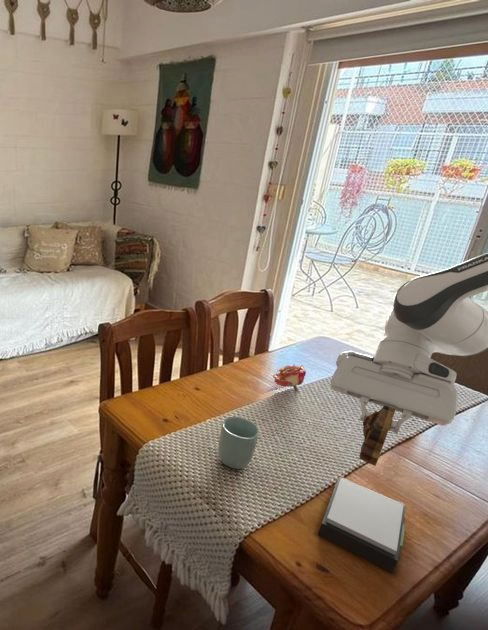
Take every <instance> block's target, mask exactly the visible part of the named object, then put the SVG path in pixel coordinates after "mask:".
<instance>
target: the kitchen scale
mask: <svg viewBox="0 0 488 630" xmlns="http://www.w3.org/2000/svg"><path fill="white" fill-rule="evenodd" d="M405 513H406V505H405V504H404V503H403V502H400V501H398V500H396V499H392V498H390V497H388V496H387V495H383V494H381V493H379V492H376V491H374V490H371V489H370V488H367V487H365V486H362V485H360V484H358V483H356V482H354V481H350V480H349V479H346V478H344V477H337V480H336V482H335V485H334V488H333V491H332V494H331V496H330V499H329V501H328V505H327V508H326V511H325V513H324V515H323V519H322V521H321V525H320V528H319V530H318V533H317V535H318V536H319V537H322V538H323V539H325V540H327V541H329V542H330V543H333V544H335V545H337V546H339V547H341V548H343V549H344V550H347V551H349V552H351V553H353V554H355V555H357V556H358V557H361V558H363V559H365V560H367V561H369V562H371V563H373V564H374V565H376V566H378V567H380V568H382V569H384V570H386V571H388V572H390V573H393V572H394V571H395V568H396V565H397V564H398V561H399V557H400V556H399V555H400V553H401V550H402V548H403V546H404V545H403V544H404V539H405V538H404V537H405V531H406V526H405V524H404V521H405Z"/></svg>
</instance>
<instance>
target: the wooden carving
mask: <svg viewBox="0 0 488 630" xmlns="http://www.w3.org/2000/svg"><path fill="white" fill-rule="evenodd" d="M395 412H396V410H395V408H392V407H388V406H382V408H380V409H379V410H378V411H377V410H375V411H374V412H372V414H371V415H370V416H367V417H365V419H364V421H362V426H363V427H362V433H363V434H362V435H363V437H364V438H363V443H362V444H361V447H360V452H359V457H358V458H359V460H362V461H364V462H366V463H368V464H370V465H372V466H373V467H376V466H377V464H378V461H379V460H380V459H379V458H380V456H381V454H382V450H383V447H384V445H385V441H386V440H387V439H386V438H387V435H388V433H389V427H390V425H391V422H392V421H393V419H394V416H395Z"/></svg>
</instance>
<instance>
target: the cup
mask: <svg viewBox="0 0 488 630" xmlns="http://www.w3.org/2000/svg"><path fill="white" fill-rule="evenodd" d="M259 433H260V431H259V428H258V427H257V424H255V423H253V422H252V421H250V420H248V419H245V418H243V417H238V416H237V417H236V416H230V417H227V418H225V419H224V420H223V422H222V424H221V428H220V433H219V439H218V445H217V446H218V447H217V449H218V450H217V451H218V453H217V454H218V457H219V459H220V461H221V462H222V464H223V465H225V466H227V467H229V468H231V469H233V470H241V469H245V468H246V467H247V466H248V465H249V464H250V462H251V461H252V459H253V456H254V453H255V450H256V446H257V442H258V438H259Z"/></svg>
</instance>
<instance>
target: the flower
mask: <svg viewBox="0 0 488 630" xmlns="http://www.w3.org/2000/svg"><path fill="white" fill-rule="evenodd" d="M276 371H277V372H279V373H275V374H273V375H272V378H273V379H274V382H273V383H275V384H276V386H281V387H290V388H292V387H293V390H294V391H295V392H298V391H299V389H298V387H297V386H301V385H303V383H304V379H305V377H306V375H307V371H305V366H304V365H300V366H298V365H296V363H294V364H293V365H286V366H283V367H281V368H279V369H276Z"/></svg>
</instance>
